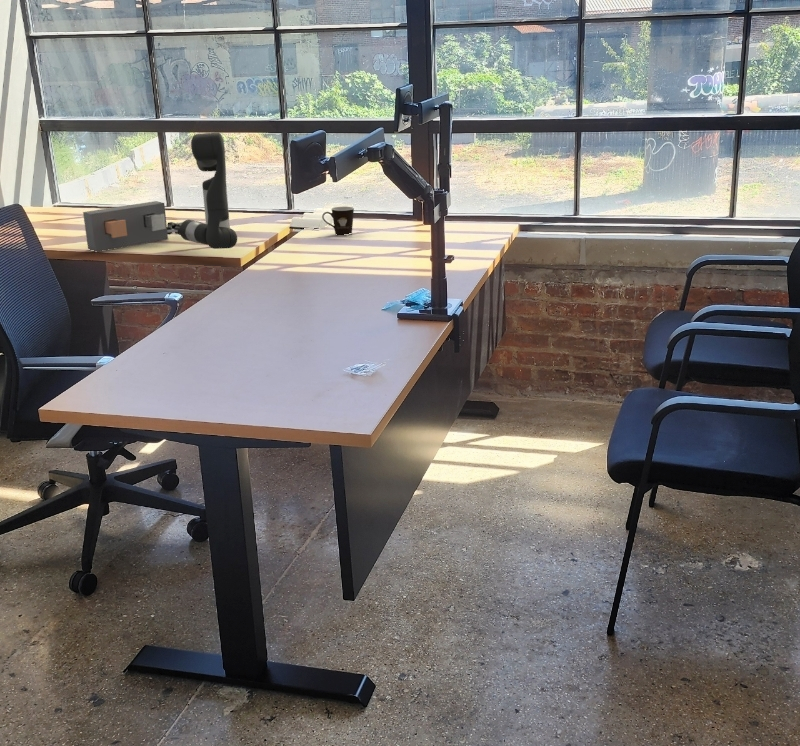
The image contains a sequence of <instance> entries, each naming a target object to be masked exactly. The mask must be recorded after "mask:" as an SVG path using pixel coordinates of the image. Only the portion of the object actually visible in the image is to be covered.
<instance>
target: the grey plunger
mask: <svg viewBox="0 0 800 746" xmlns="http://www.w3.org/2000/svg"><path fill="white" fill-rule="evenodd" d="M143 218H144V226H146V227H150V228H151V231H156V230H161V229H166V225H165V216H164V214H156V215H155V214H145V215H143Z"/></svg>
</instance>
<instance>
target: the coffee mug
mask: <svg viewBox="0 0 800 746" xmlns="http://www.w3.org/2000/svg"><path fill="white" fill-rule="evenodd" d="M354 211H355V208H354V206H353V207H334V208H332V213H330V212H325V213H324V214H323V216H322V218H323V220H324V221H325V222H326V223H327V224H329V226H330V227H333V229H334V233H335V235H336V234H337V235H336V236H338V235H344V234H349V233H352V234H353V223H354ZM326 213H328V214H330V215H331V216H332V218H333V221H334V224H330V223H328V222H327V221H326V220H325V219H324V215H325V214H326Z"/></svg>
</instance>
